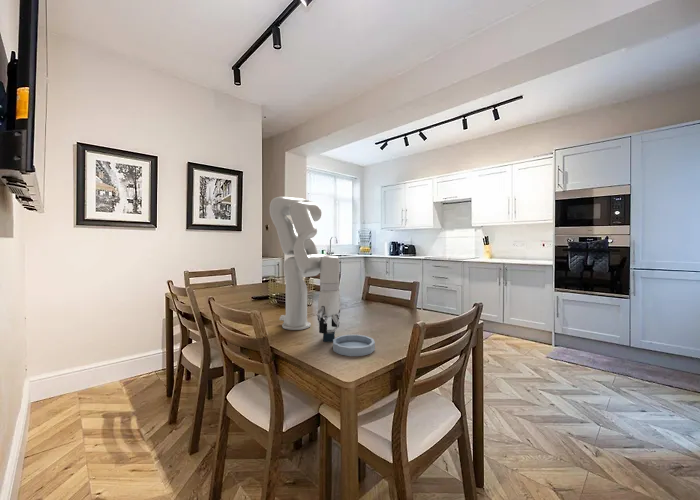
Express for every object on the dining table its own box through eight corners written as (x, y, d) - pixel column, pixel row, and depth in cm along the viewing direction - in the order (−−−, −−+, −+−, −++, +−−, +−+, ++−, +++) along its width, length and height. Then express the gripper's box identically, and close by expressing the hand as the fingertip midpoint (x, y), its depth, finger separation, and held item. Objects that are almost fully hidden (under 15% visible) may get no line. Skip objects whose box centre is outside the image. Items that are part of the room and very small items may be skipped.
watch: (339, 341, 126) (339, 313, 126) (318, 341, 126) (318, 313, 126) (339, 337, 132) (339, 310, 131) (319, 337, 132) (319, 310, 131)
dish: (325, 351, 115) (325, 343, 115) (344, 339, 129) (344, 332, 129) (364, 359, 109) (364, 350, 109) (380, 345, 122) (380, 338, 122)
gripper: (331, 283, 137) (331, 323, 138) (309, 289, 122) (309, 334, 123) (347, 284, 134) (347, 325, 135) (327, 291, 119) (326, 337, 119)
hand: (329, 329), depth 129 cm, fingers open, 9 cm apart
